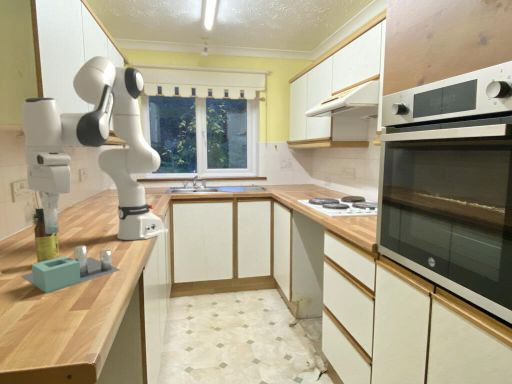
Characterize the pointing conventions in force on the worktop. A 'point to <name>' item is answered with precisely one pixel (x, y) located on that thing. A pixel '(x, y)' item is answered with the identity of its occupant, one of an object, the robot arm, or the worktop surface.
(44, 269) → the block
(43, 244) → the sauce bottle
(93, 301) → the worktop surface
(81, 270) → the medium pin
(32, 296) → the worktop surface
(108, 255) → the short pin
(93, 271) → the mat
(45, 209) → the long pin
